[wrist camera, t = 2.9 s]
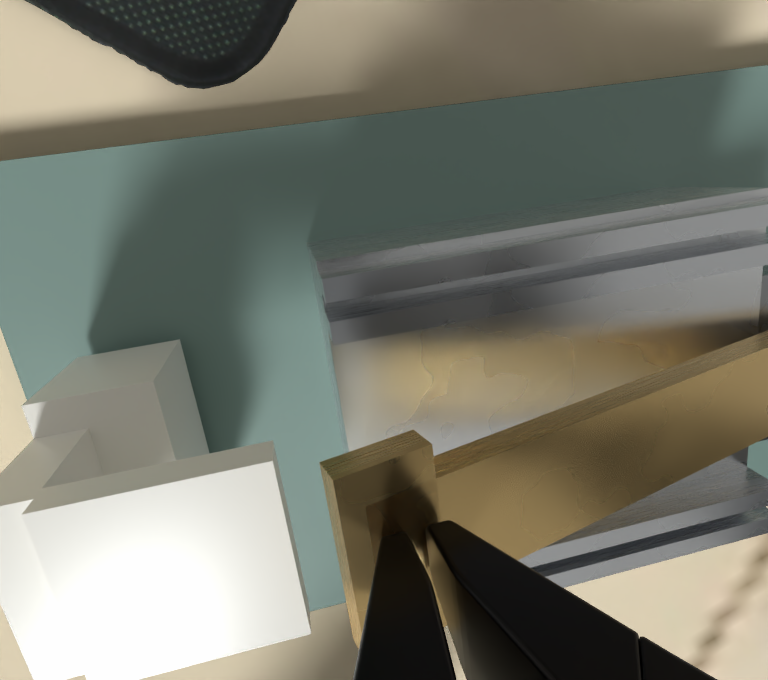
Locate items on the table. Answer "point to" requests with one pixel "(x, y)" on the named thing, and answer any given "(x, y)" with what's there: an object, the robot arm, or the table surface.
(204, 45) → the mouse mat
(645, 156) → the board
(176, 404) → the clip
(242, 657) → the table surface
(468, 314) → the heatsink
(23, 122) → the table surface
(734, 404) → the tan flat bar
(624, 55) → the table surface
